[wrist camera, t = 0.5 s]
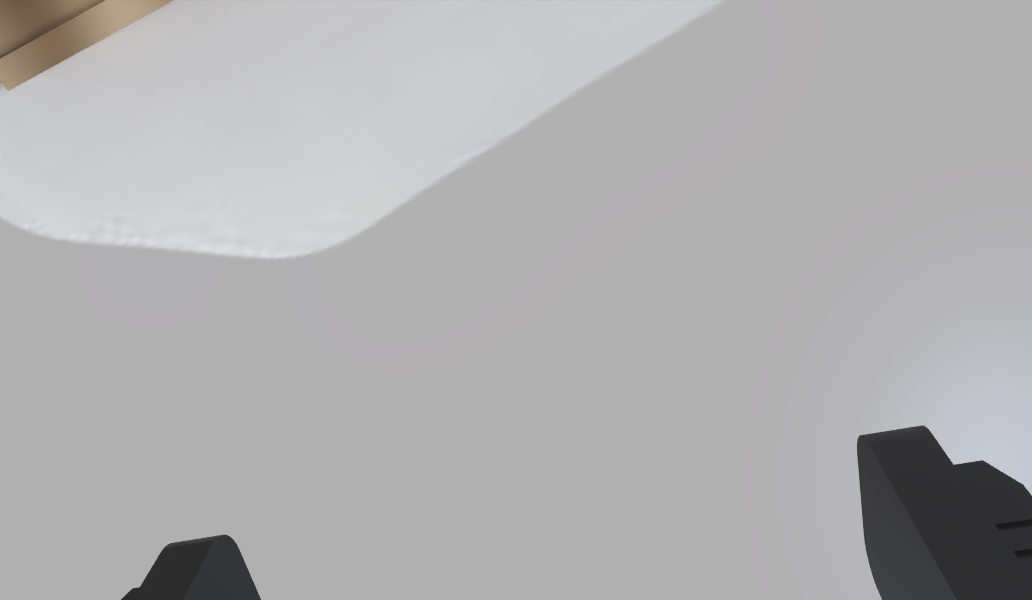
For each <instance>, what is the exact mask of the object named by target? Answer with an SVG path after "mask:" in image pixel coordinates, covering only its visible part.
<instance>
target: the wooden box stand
mask: <svg viewBox="0 0 1032 600" xmlns="http://www.w3.org/2000/svg"><path fill="white" fill-rule="evenodd" d="M171 1H173V0H0V54H1V57H0V81H1V82H2V84H3V85H4V86H5V87H6V88H7V90H8V91H9V90H11V89H12V88H14V87H16V86H18V85H20V84H22V83H23V82H25V81H27V80H29V79H31V78H32V77H34V76H36V75H38V74H40V73H42V72H43V71H45V70H47V69H49V68H51V67H53V66H54V65H56V64H58V63H60V62H62V61H64V60H65V59H67V58H69V57H71V56H73V55H74V54H76V53H78V52H80V51H82V50H84V49H85V48H87V47H89V46H91V45H93V44H95V43H96V42H98V41H100V40H102V39H104V38H106V37H107V36H109V35H111V34H113V33H115V32H116V31H118V30H120V29H122V28H124V27H126V26H127V25H129V24H131V23H133V22H135V21H137V20H138V19H140V18H142V17H144V16H146V15H147V14H149V13H151V12H153V11H155V10H157V9H158V8H160V7H162V6H164V5H166V4H168V3H169V2H171Z"/></svg>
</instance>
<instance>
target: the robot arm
mask: <svg viewBox="0 0 1032 600" xmlns="http://www.w3.org/2000/svg"><path fill="white" fill-rule="evenodd" d="M857 456H858V467H859V480H860V492H861V504H862V516H863V528H864V539H865V545H866V551H867V556H868V560H869V564H870V568H871V571H872V575H873V578H874V581H875V584H876V586H877V589H878V591H879V594H880V596H881V598H882V600H1032V496H1031V494H1030V493H1029V492H1028V491H1027V489H1026V488H1025V487H1024V485H1022V484H1021V483H1019V482H1017V481H1016V480H1014V479H1013V478H1011V477H1009V476H1008V475H1006V474H1004V473H1003V472H1001V471H999V470H998V469H996V468H994V467H993V466H991V465H989V464H988V463H986V462H984V461H983V460H982V461H976V462H969V463H963V464H957V465H953V463H952V462H951V461H950V459H949V458H948V456H947V455H946V453H945V452H944V450H943V449H942V448H941V446H940V445H939V443H938V442H937V440H936V439H935V438H934V436H933V435H932V433H931V432H930V431H929V429H928V428H926V427H925V426H917V427H910V428H904V429H898V430H892V431H886V432H879V433H873V434H866V435H860V436H859V438H858V441H857ZM121 600H261V599H260V596H259V594H258V592H257V590H256V587H255V585H254V582H253V580H252V578H251V576H250V573H249V571H248V569H247V566H246V564H245V562H244V559H243V557H242V555H241V553H240V550H239V548H238V546H237V544H236V543H235V542H234V540H233V539H232V538H231V537H229V536H228V535H219V536H213V537H207V538H201V539H194V540H188V541H182V542H175V543H170V544H168V545H167V546H166V547H165V548H164V549H163V550H162V551H161V553H160V555H159V556H158V558H157V560H156V561H155V563H154V565H153V566H152V568H151V570H150V571H149V573H148V575H147V576H146V578H145V580H144V581H143V583H142V585H141V586H140V587H139V588H133V589H132V590H131V591H129V592H128V593H127V594H126V595H125V596H124V597H123V598H122V599H121Z"/></svg>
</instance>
